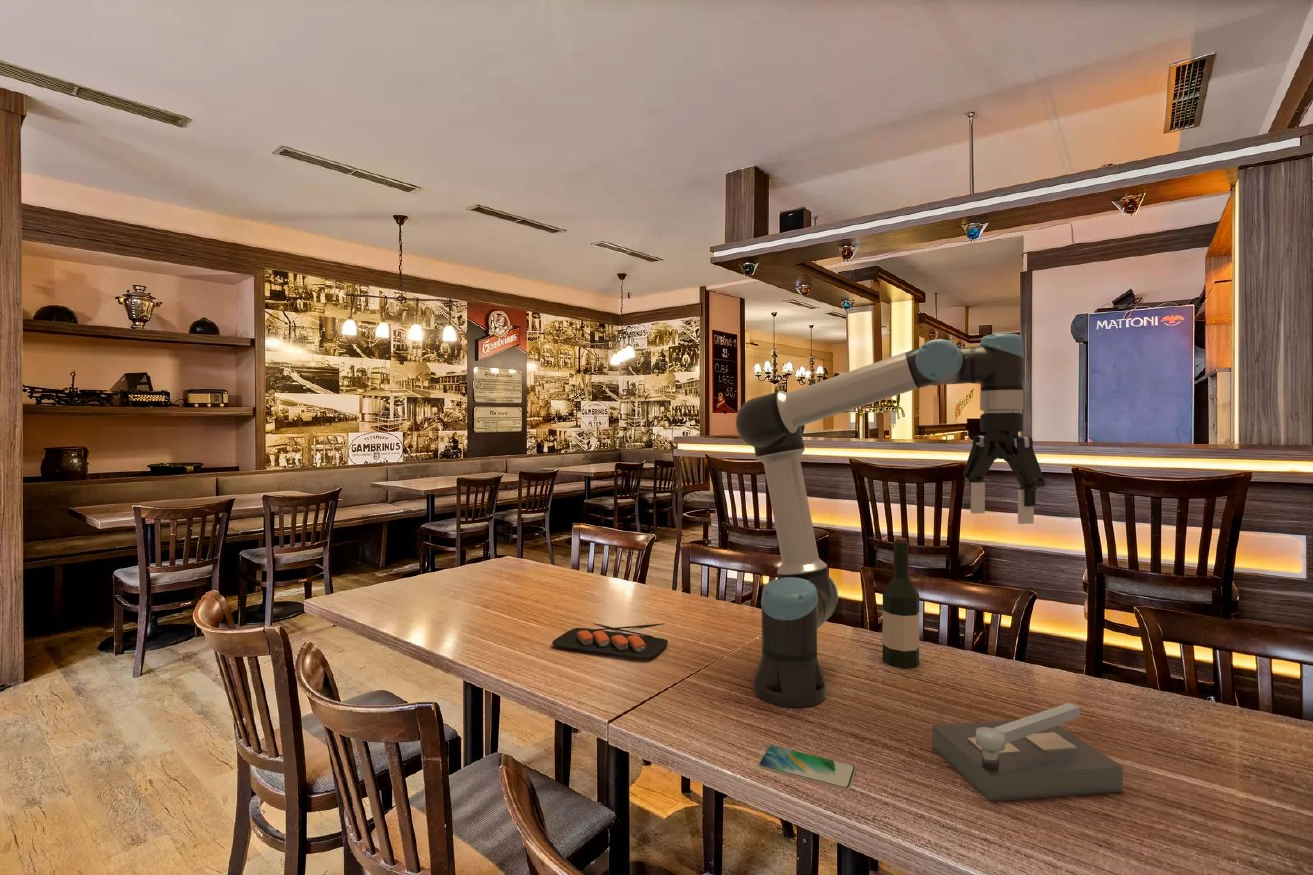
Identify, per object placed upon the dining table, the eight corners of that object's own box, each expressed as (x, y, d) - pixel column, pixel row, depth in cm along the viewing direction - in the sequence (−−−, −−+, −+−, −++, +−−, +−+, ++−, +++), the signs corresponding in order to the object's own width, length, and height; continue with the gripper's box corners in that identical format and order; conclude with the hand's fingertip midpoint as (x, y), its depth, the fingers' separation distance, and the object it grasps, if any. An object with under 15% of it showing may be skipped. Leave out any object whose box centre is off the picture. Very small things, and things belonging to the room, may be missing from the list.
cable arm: (993, 753, 94) (993, 742, 94) (970, 741, 98) (970, 730, 98) (1086, 720, 104) (1086, 709, 104) (1062, 710, 108) (1062, 700, 108)
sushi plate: (547, 651, 159) (547, 636, 159) (600, 617, 187) (600, 604, 187) (650, 666, 148) (650, 651, 148) (691, 628, 176) (690, 615, 176)
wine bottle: (922, 670, 144) (923, 542, 143) (885, 667, 145) (885, 541, 145) (915, 657, 152) (915, 536, 151) (879, 654, 154) (880, 535, 153)
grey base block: (990, 801, 94) (990, 757, 93) (932, 747, 109) (932, 709, 109) (1122, 791, 96) (1123, 748, 96) (1047, 739, 112) (1047, 702, 112)
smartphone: (849, 789, 97) (757, 765, 103) (849, 794, 97) (757, 770, 103) (856, 765, 103) (769, 744, 110) (856, 770, 103) (769, 748, 110)
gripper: (1068, 410, 111) (1067, 527, 112) (976, 413, 136) (975, 509, 136) (1031, 410, 110) (1030, 529, 111) (945, 413, 135) (944, 510, 135)
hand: (1000, 518), depth 123 cm, fingers open, 13 cm apart
